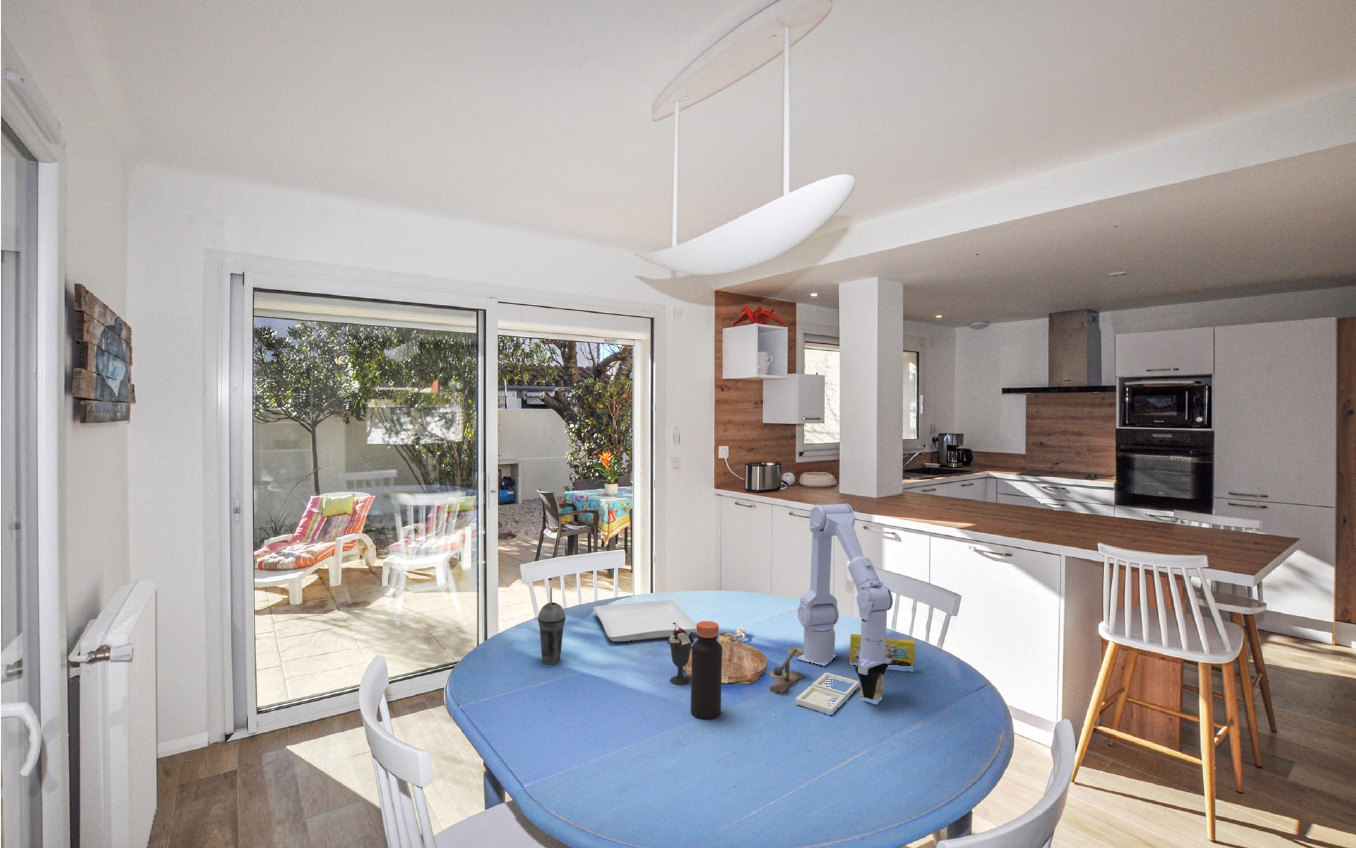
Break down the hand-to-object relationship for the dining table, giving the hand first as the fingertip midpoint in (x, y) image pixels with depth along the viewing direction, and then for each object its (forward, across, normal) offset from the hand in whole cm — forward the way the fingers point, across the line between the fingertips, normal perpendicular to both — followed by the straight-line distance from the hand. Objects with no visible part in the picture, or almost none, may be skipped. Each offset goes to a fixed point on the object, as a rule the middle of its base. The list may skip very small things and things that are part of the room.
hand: (871, 694), depth 153 cm
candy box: (+2, +20, +4) cm, 20 cm away
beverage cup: (+2, -30, +76) cm, 82 cm away
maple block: (+1, 0, 0) cm, 1 cm away
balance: (+1, -4, +20) cm, 20 cm away
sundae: (+2, -19, +42) cm, 46 cm away
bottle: (+2, -29, +28) cm, 40 cm away
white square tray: (+1, 0, +9) cm, 9 cm away
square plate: (+2, +6, +73) cm, 73 cm away
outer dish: (+1, -9, +9) cm, 13 cm away
